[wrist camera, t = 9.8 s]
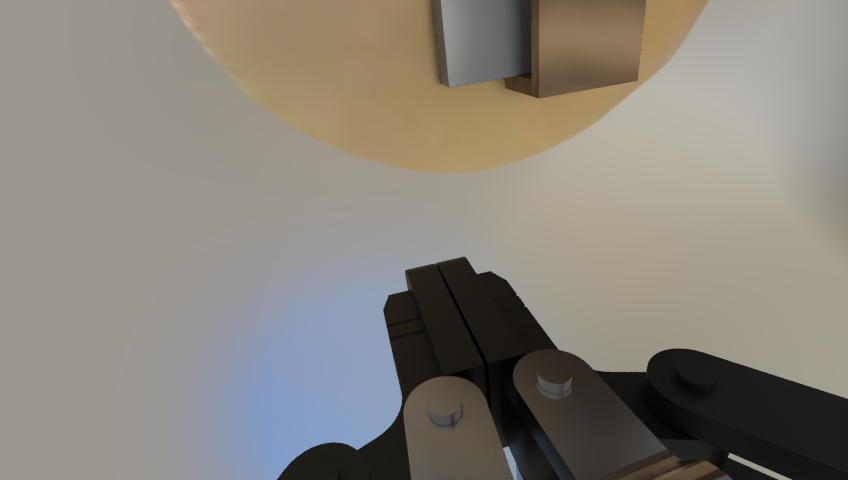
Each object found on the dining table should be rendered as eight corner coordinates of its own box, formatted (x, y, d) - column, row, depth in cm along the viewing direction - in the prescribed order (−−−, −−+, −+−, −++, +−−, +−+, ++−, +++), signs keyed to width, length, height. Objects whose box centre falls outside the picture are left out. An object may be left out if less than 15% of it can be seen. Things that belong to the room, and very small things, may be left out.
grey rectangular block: (430, 0, 32) (440, -2, 29) (574, -20, 34) (595, -25, 31) (439, 83, 35) (449, 87, 32) (571, 60, 36) (591, 62, 34)
